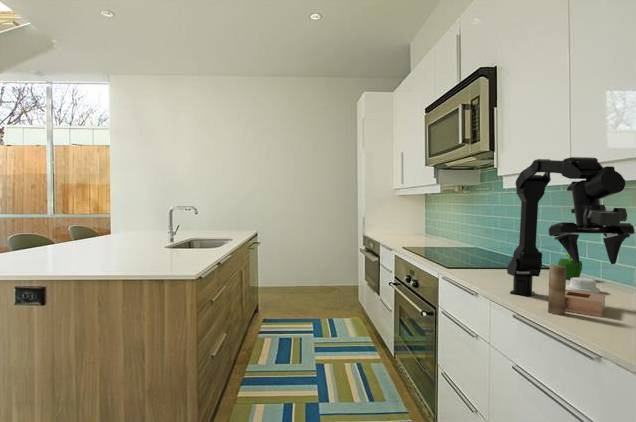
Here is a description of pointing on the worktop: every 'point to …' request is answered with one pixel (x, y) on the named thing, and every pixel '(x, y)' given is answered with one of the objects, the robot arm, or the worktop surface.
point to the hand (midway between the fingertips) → (595, 263)
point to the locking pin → (557, 289)
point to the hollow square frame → (584, 302)
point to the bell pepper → (571, 267)
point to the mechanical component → (583, 285)
